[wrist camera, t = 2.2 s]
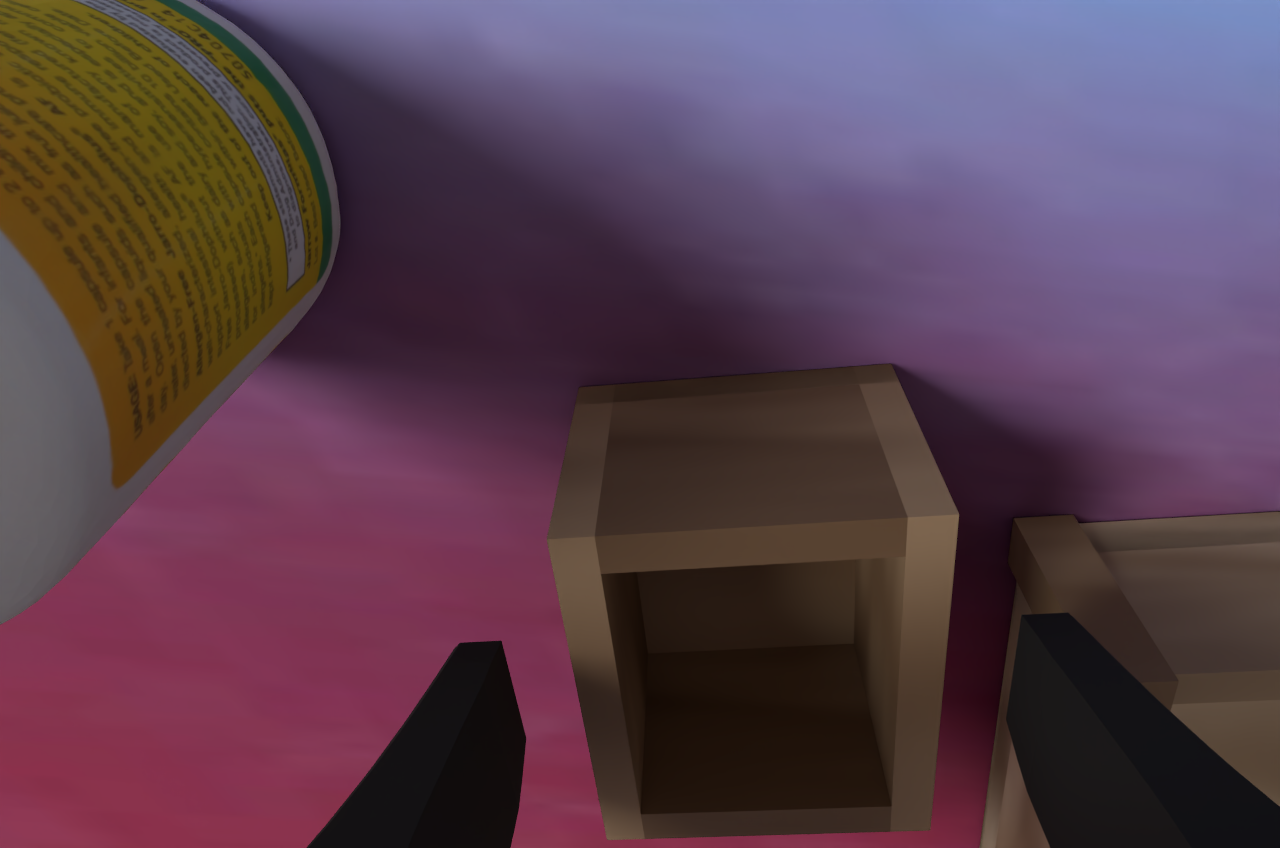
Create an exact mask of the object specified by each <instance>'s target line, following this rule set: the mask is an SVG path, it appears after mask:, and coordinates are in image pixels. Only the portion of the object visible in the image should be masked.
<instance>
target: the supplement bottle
mask: <svg viewBox="0 0 1280 848" xmlns="http://www.w3.org/2000/svg"><path fill="white" fill-rule="evenodd" d="M340 223H341V220H340V211H339V201H338V194H337V185H336V181H335V177H334V172H333V167H332V164H331V160H330V157H329V154H328V151H327V147H326V144H325V141H324V138H323V136H322V134H321V132H320V129H319V127H318V125H317V123H316V121H315V119H314V116H313V114H312V112H311V110H310V108H309V107H308V105H307V103H306V102H305V100H304V98H303V97H302V95H301V94H300V92H299V90H298V89H297V88H296V86H295V85H294V84H293V83H292V81H291V80H290V79H289V77H288V76H287V75H286V74H285V72H284V71H283V70H282V68H281V67H280V66H279V65H278V64H277V63H276V62H275V61H274V60H273V59H272V58H271V57H270V56H269V55H268V54H267V52H266V51H265V50H264V49H263V48H262V47H261V46H259V45H258V44H257V43H256V42H255V41H254V40H253V39H252V38H251V37H250V36H248V35H247V34H246V33H245V32H243V31H242V30H241V29H239V28H238V27H237V26H236V25H234V24H233V23H232V22H230V21H228V20H227V19H225V18H224V17H222V16H220V15H219V14H217V13H216V12H214V11H213V10H211V9H209V8H208V7H206V6H205V5H203V4H201V3H200V2H198V1H196V0H0V624H2V623H4V622H6V621H8V620H10V619H11V618H13V617H15V616H16V615H18V614H20V613H21V612H23V611H24V610H26V609H27V608H28V607H30V606H31V605H33V604H34V603H35V602H37V601H38V600H39V599H40V598H42V597H43V596H44V595H45V594H46V593H47V592H48V591H49V590H50V589H51V588H53V587H54V586H55V585H56V584H57V583H58V582H59V581H60V580H61V579H63V578H64V577H65V576H66V575H67V574H68V573H69V572H70V571H71V569H72V568H73V567H74V566H75V565H76V564H77V563H78V562H79V561H80V560H81V559H82V558H83V557H84V556H85V554H86V553H87V552H88V551H89V550H90V549H91V548H92V547H93V546H94V545H95V544H96V543H97V542H98V541H99V539H100V538H101V537H102V536H103V535H104V534H105V533H106V532H107V531H108V530H109V529H110V528H111V527H112V526H113V524H114V523H115V522H116V521H117V520H118V519H119V518H120V517H121V516H122V515H123V514H124V513H125V512H126V511H127V509H128V508H129V507H130V506H131V505H132V504H133V503H134V502H135V500H136V499H137V498H138V497H139V496H140V495H141V494H142V493H143V491H144V490H145V489H146V488H147V487H148V486H149V485H150V484H151V483H152V481H153V480H154V479H155V478H156V477H157V476H158V475H159V474H160V473H161V472H162V471H163V469H164V468H165V467H166V466H167V465H168V464H169V463H170V462H171V461H172V460H173V459H174V458H175V456H176V455H177V454H178V453H179V452H180V451H181V450H182V449H183V448H184V447H185V445H186V444H187V443H188V442H189V441H190V440H191V438H192V437H193V436H194V435H195V434H196V433H197V432H198V430H199V429H200V428H201V427H202V426H203V425H204V424H205V423H206V422H207V421H208V420H209V418H210V417H211V416H212V415H213V414H214V413H215V412H216V411H217V410H218V409H219V408H220V407H221V406H222V404H223V403H224V402H225V401H226V400H227V399H228V398H229V397H230V396H231V395H232V394H233V393H234V392H235V391H236V390H237V389H238V388H239V386H240V385H241V384H242V383H243V382H244V381H245V380H246V379H247V378H248V377H249V376H250V375H251V374H252V372H253V371H254V370H255V369H256V368H257V367H258V366H259V365H260V364H261V363H262V362H263V361H264V360H265V358H266V357H267V356H268V355H269V354H270V353H271V352H272V351H273V350H274V349H275V348H276V347H277V346H278V345H279V343H280V342H281V341H282V340H283V339H284V338H285V337H286V336H287V335H288V334H289V333H290V332H291V331H292V330H293V329H294V328H295V326H296V325H297V324H298V322H299V321H300V320H301V319H302V318H303V317H304V315H305V314H306V313H307V312H308V311H309V309H310V308H311V306H312V305H313V303H314V302H315V300H316V299H317V298H318V296H319V295H320V293H321V291H322V289H323V287H324V285H325V283H326V281H327V279H328V277H329V275H330V273H331V269H332V266H333V263H334V259H335V256H336V252H337V248H338V243H339V237H340Z"/></svg>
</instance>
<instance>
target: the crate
mask: <svg viewBox="0 0 1280 848" xmlns="http://www.w3.org/2000/svg"><path fill="white" fill-rule="evenodd" d="M1008 565H1009V567H1010V569H1011V571H1012V573H1013V575H1014V577H1015V579H1016V588H1015V596H1014V603H1013V610H1012V617H1011V624H1010V632H1009V639H1008V646H1007V653H1006V661H1005V668H1004V675H1003V682H1002V689H1001V697H1000V704H999V711H998V718H997V725H996V733H995V740H994V747H993V754H992V762H991V769H990V776H989V783H988V790H987V798H986V805H985V812H984V819H983V826H982V834H981V841H980V848H1050V846H1049V844H1048V841H1047V839H1046V836H1045V834H1044V832H1043V829H1042V827H1041V824H1040V822H1039V820H1038V817H1037V815H1036V813H1035V810H1034V808H1033V805H1032V803H1031V800H1030V798H1029V795H1028V793H1027V790H1026V787H1025V783H1024V780H1023V777H1022V774H1021V770H1020V767H1019V764H1018V760H1017V757H1016V753H1015V750H1014V746H1013V743H1012V739H1011V735H1010V732H1009V728H1008V725H1007V721H1006V715H1007V708H1008V702H1009V695H1010V688H1011V682H1012V675H1013V668H1014V661H1015V655H1016V648H1017V641H1018V635H1019V628H1020V621H1021V615H1027V614H1047V613H1067V612H1068V613H1069V614H1070V615H1072V616H1073V617H1074V618H1075V619H1076V620H1077V621H1078V622H1079V623H1080V624H1081V625H1082V626H1083V627H1084V628H1085V629H1086V630H1087V631H1088V632H1089V633H1090V634H1091V635H1092V636H1093V637H1094V638H1095V639H1096V640H1097V641H1098V642H1099V643H1100V644H1101V645H1102V646H1103V647H1104V648H1105V649H1106V650H1107V651H1108V652H1109V653H1110V654H1111V655H1112V656H1113V657H1114V658H1115V659H1116V660H1117V661H1119V662H1120V663H1121V664H1122V665H1123V666H1124V667H1125V668H1126V669H1127V670H1128V671H1129V672H1130V673H1131V674H1132V675H1133V676H1134V677H1135V678H1136V679H1137V680H1138V681H1139V682H1140V683H1141V684H1142V685H1143V686H1144V687H1145V688H1146V689H1147V690H1148V691H1149V692H1150V693H1151V694H1153V695H1154V696H1155V697H1156V698H1157V699H1158V700H1159V701H1160V702H1161V703H1162V704H1163V705H1164V706H1165V707H1166V708H1167V709H1168V710H1170V711H1171V712H1172V713H1173V714H1174V715H1175V716H1176V717H1177V718H1178V719H1179V720H1181V721H1182V722H1183V723H1184V724H1185V725H1186V726H1187V727H1188V728H1189V729H1190V730H1191V731H1193V732H1194V733H1195V734H1196V735H1197V736H1198V737H1199V738H1200V739H1201V740H1202V741H1204V742H1205V743H1206V744H1207V745H1208V746H1209V747H1210V748H1211V749H1212V750H1214V751H1215V752H1216V753H1217V754H1218V755H1219V756H1220V757H1222V758H1223V759H1224V760H1225V761H1226V762H1227V763H1228V764H1230V765H1231V766H1232V767H1233V768H1234V769H1235V770H1237V771H1238V772H1239V773H1240V774H1241V775H1242V776H1244V777H1245V778H1246V779H1247V780H1248V781H1250V782H1251V783H1252V784H1253V785H1254V786H1256V787H1257V788H1258V789H1259V790H1260V791H1262V792H1263V793H1264V794H1265V795H1266V796H1268V797H1269V798H1270V799H1271V800H1272V801H1274V802H1275V803H1276V804H1277V805H1279V806H1280V512H1264V513H1247V514H1230V515H1213V516H1196V517H1179V518H1162V519H1145V520H1128V521H1112V522H1095V523H1078V522H1077V520H1076V518H1075V517H1074V515H1058V516H1041V517H1025V518H1013V526H1012V533H1011V541H1010V549H1009V556H1008Z"/></svg>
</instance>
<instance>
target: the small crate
mask: <svg viewBox="0 0 1280 848" xmlns="http://www.w3.org/2000/svg"><path fill="white" fill-rule="evenodd" d="M958 522H959V513H958V511H957V508H956V506H955V504H954V502H953V500H952V497H951V495H950V493H949V491H948V488H947V486H946V484H945V482H944V480H943V477H942V475H941V473H940V471H939V469H938V466H937V464H936V462H935V460H934V457H933V455H932V453H931V451H930V449H929V446H928V444H927V442H926V440H925V438H924V435H923V433H922V431H921V429H920V426H919V424H918V422H917V420H916V418H915V415H914V413H913V411H912V409H911V407H910V404H909V402H908V400H907V398H906V395H905V393H904V391H903V389H902V387H901V384H900V382H899V380H898V378H897V376H896V373H895V371H894V369H893V367H892V364H880V365H867V366H853V367H840V368H827V369H814V370H801V371H787V372H774V373H761V374H748V375H735V376H722V377H708V378H695V379H682V380H669V381H656V382H642V383H629V384H616V385H603V386H590V387H579V389H578V394H577V399H576V404H575V408H574V413H573V418H572V422H571V427H570V432H569V437H568V441H567V446H566V451H565V456H564V460H563V465H562V470H561V475H560V479H559V484H558V489H557V493H556V498H555V503H554V508H553V512H552V517H551V522H550V527H549V531H548V536H547V543H548V548H549V553H550V558H551V563H552V568H553V573H554V578H555V583H556V588H557V593H558V598H559V603H560V608H561V613H562V618H563V623H564V628H565V633H566V637H567V642H568V647H569V652H570V657H571V662H572V667H573V672H574V677H575V682H576V687H577V692H578V697H579V702H580V707H581V712H582V717H583V722H584V727H585V732H586V737H587V742H588V747H589V752H590V757H591V762H592V767H593V772H594V777H595V782H596V787H597V792H598V797H599V802H600V807H601V812H602V817H603V822H604V827H605V832H606V837H607V840H621V839H655V838H689V837H722V836H756V835H790V834H823V833H857V832H890V831H924V830H930V827H931V816H932V805H933V794H934V783H935V772H936V761H937V750H938V739H939V729H940V718H941V707H942V696H943V685H944V674H945V663H946V652H947V642H948V631H949V620H950V609H951V598H952V587H953V576H954V565H955V554H956V544H957V533H958Z"/></svg>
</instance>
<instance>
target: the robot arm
mask: <svg viewBox="0 0 1280 848" xmlns="http://www.w3.org/2000/svg"><path fill="white" fill-rule="evenodd" d="M1006 721H1007V725H1008V728H1009V732H1010V735H1011V739H1012V743H1013V746H1014V750H1015V753H1016V757H1017V760H1018V764H1019V767H1020V770H1021V774H1022V777H1023V780H1024V783H1025V787H1026V790H1027V793H1028V795H1029V798H1030V800H1031V803H1032V805H1033V808H1034V810H1035V813H1036V815H1037V817H1038V820H1039V822H1040V824H1041V827H1042V829H1043V832H1044V834H1045V836H1046V839H1047V841H1048V844H1049V846H1050V848H1280V806H1279V805H1277V804H1276V803H1275V802H1274V801H1272V800H1271V799H1270V798H1269V797H1268V796H1266V795H1265V794H1264V793H1263V792H1262V791H1260V790H1259V789H1258V788H1257V787H1256V786H1254V785H1253V784H1252V783H1251V782H1250V781H1248V780H1247V779H1246V778H1245V777H1244V776H1242V775H1241V774H1240V773H1239V772H1238V771H1237V770H1235V769H1234V768H1233V767H1232V766H1231V765H1230V764H1228V763H1227V762H1226V761H1225V760H1224V759H1223V758H1222V757H1220V756H1219V755H1218V754H1217V753H1216V752H1215V751H1214V750H1212V749H1211V748H1210V747H1209V746H1208V745H1207V744H1206V743H1205V742H1204V741H1202V740H1201V739H1200V738H1199V737H1198V736H1197V735H1196V734H1195V733H1194V732H1193V731H1191V730H1190V729H1189V728H1188V727H1187V726H1186V725H1185V724H1184V723H1183V722H1182V721H1181V720H1179V719H1178V718H1177V717H1176V716H1175V715H1174V714H1173V713H1172V712H1171V711H1170V710H1168V709H1167V708H1166V707H1165V706H1164V705H1163V704H1162V703H1161V702H1160V701H1159V700H1158V699H1157V698H1156V697H1155V696H1154V695H1153V694H1151V693H1150V692H1149V691H1148V690H1147V689H1146V688H1145V687H1144V686H1143V685H1142V684H1141V683H1140V682H1139V681H1138V680H1137V679H1136V678H1135V677H1134V676H1133V675H1132V674H1131V673H1130V672H1129V671H1128V670H1127V669H1126V668H1125V667H1124V666H1123V665H1122V664H1121V663H1120V662H1119V661H1117V660H1116V659H1115V658H1114V657H1113V656H1112V655H1111V654H1110V653H1109V652H1108V651H1107V650H1106V649H1105V648H1104V647H1103V646H1102V645H1101V644H1100V643H1099V642H1098V641H1097V640H1096V639H1095V638H1094V637H1093V636H1092V635H1091V634H1090V633H1089V632H1088V631H1087V630H1086V629H1085V628H1084V627H1083V626H1082V625H1081V624H1080V623H1079V622H1078V621H1077V620H1076V619H1075V618H1074V617H1073V616H1072V615H1070V614H1069V613H1068V612H1067V613H1047V614H1027V615H1021V621H1020V628H1019V635H1018V641H1017V648H1016V655H1015V661H1014V668H1013V675H1012V682H1011V688H1010V695H1009V702H1008V708H1007V715H1006ZM525 745H526V736H525V732H524V728H523V724H522V720H521V716H520V712H519V708H518V704H517V700H516V696H515V692H514V689H513V685H512V681H511V677H510V673H509V669H508V665H507V661H506V657H505V653H504V649H503V645H502V641H487V642H467V643H459V644H458V646H457V647H456V648H455V649H454V650H453V651H452V653H451V654H450V656H449V657H448V659H447V661H446V662H445V664H444V665H443V667H442V668H441V670H440V671H439V673H438V674H437V676H436V677H435V679H434V680H433V682H432V683H431V685H430V686H429V688H428V689H427V691H426V692H425V694H424V695H423V697H422V698H421V700H420V701H419V702H418V704H417V705H416V707H415V708H414V710H413V711H412V713H411V714H410V715H409V717H408V718H407V720H406V721H405V723H404V724H403V725H402V727H401V728H400V730H399V731H398V732H397V734H396V735H395V736H394V738H393V739H392V741H391V742H390V743H389V745H388V746H387V747H386V749H385V750H384V752H383V753H382V754H381V756H380V757H379V758H378V760H377V761H376V763H375V764H374V765H373V767H372V768H371V769H370V771H369V772H368V773H367V774H366V776H365V777H364V778H363V780H362V781H361V782H360V783H359V785H358V786H357V787H356V788H355V790H354V791H353V792H352V793H351V795H350V796H349V797H348V798H347V800H346V801H345V802H344V803H343V805H342V806H341V807H340V808H339V810H338V811H337V812H336V813H335V814H334V816H333V817H332V818H331V819H330V821H329V822H328V823H327V824H326V826H325V827H324V828H323V829H322V830H321V831H320V833H319V834H318V835H317V836H316V837H315V838H314V840H313V841H312V842H311V843H310V844H309V845H308V847H307V848H510V847H511V843H512V838H513V833H514V829H515V824H516V819H517V815H518V810H519V802H520V793H521V785H522V776H523V765H524V755H525Z"/></svg>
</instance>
